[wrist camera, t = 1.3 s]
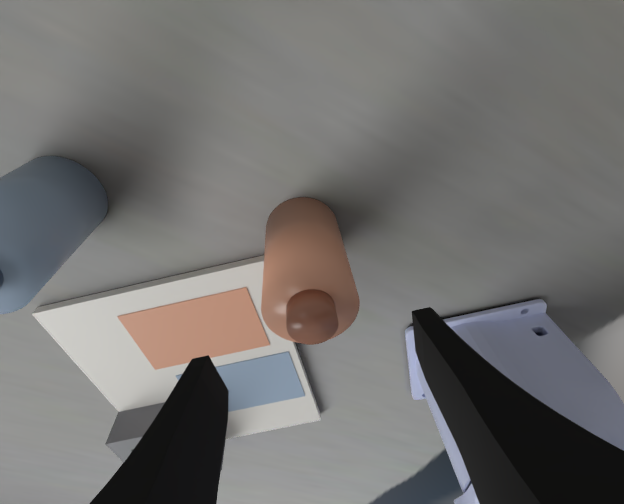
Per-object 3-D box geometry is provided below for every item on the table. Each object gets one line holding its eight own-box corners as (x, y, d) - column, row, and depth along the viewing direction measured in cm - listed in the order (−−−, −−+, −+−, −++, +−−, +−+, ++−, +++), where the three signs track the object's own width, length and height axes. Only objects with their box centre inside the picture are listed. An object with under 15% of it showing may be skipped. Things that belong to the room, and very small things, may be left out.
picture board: (263, 255, 21) (261, 287, 18) (320, 413, 29) (324, 449, 27) (37, 307, 21) (5, 345, 19) (157, 446, 30) (146, 484, 28)
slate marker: (79, 146, 17) (-42, 222, 10) (122, 220, 19) (44, 320, 13) (0, 167, 17) (-166, 252, 11) (51, 237, 19) (-61, 344, 13)
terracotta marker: (330, 189, 19) (356, 273, 13) (343, 251, 21) (370, 349, 15) (256, 207, 19) (245, 298, 13) (277, 266, 21) (276, 369, 15)
